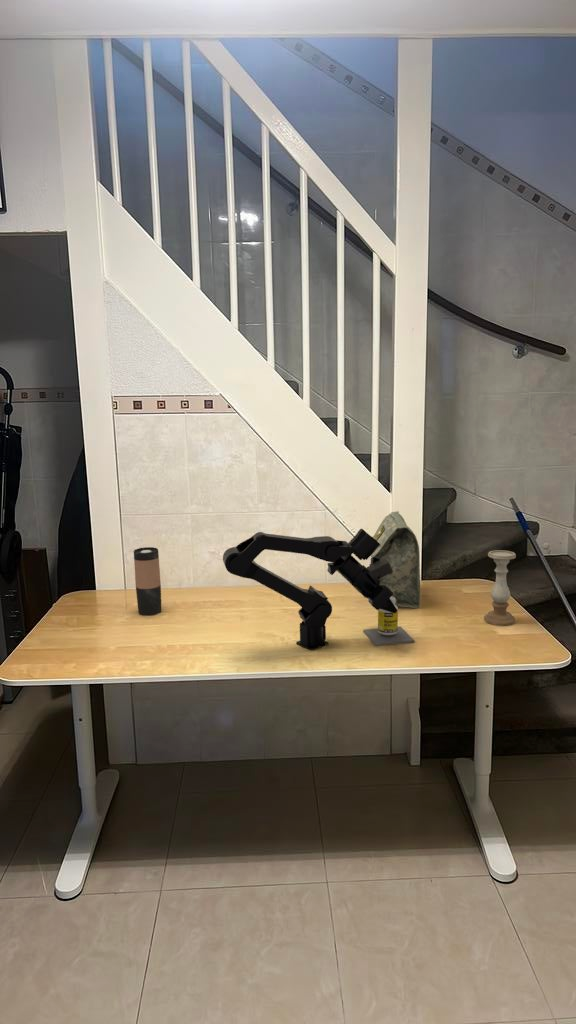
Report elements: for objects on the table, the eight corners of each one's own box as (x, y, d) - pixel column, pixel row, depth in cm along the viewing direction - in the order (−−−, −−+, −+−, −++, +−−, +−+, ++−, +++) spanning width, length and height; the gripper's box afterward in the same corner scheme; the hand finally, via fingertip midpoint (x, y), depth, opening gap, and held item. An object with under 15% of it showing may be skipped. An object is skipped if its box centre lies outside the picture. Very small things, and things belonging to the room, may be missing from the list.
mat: (375, 646, 184) (375, 643, 184) (363, 631, 195) (363, 629, 195) (414, 642, 186) (414, 640, 186) (400, 628, 197) (400, 626, 197)
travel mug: (165, 608, 220) (161, 547, 216) (158, 616, 213) (154, 553, 209) (141, 607, 221) (137, 547, 217) (134, 615, 213) (129, 553, 210)
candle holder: (518, 626, 196) (521, 557, 192) (487, 626, 197) (489, 557, 193) (511, 615, 205) (513, 549, 201) (481, 615, 205) (483, 549, 202)
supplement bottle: (383, 636, 187) (383, 601, 185) (374, 630, 192) (374, 596, 190) (401, 634, 188) (401, 599, 187) (392, 627, 194) (392, 594, 192)
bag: (366, 588, 235) (365, 509, 230) (413, 588, 234) (414, 509, 229) (371, 610, 213) (371, 523, 208) (424, 610, 212) (425, 522, 207)
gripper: (385, 558, 176) (425, 597, 180) (364, 542, 194) (401, 577, 198) (355, 590, 176) (396, 628, 180) (337, 571, 194) (374, 606, 198)
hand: (392, 608), depth 189 cm, fingers closed on supplement bottle, 5 cm apart
